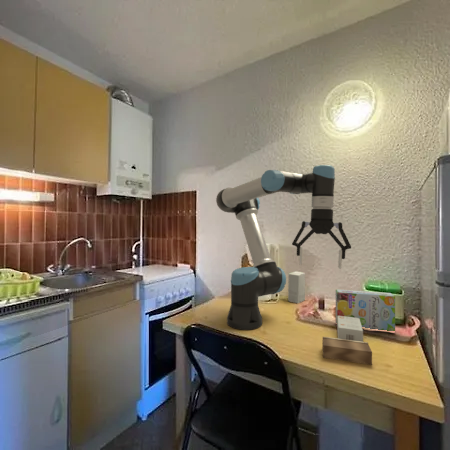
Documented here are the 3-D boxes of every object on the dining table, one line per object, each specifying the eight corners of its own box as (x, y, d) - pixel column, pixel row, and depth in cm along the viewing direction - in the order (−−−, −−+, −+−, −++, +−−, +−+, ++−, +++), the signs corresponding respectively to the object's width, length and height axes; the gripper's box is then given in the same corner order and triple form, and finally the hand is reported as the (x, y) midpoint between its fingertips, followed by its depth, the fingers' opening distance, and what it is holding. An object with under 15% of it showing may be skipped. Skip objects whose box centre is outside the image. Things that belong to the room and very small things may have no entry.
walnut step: (323, 357, 85) (323, 344, 85) (322, 348, 91) (322, 336, 91) (371, 364, 81) (372, 351, 81) (367, 355, 86) (367, 342, 86)
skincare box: (295, 298, 151) (295, 271, 151) (305, 300, 146) (306, 272, 146) (287, 301, 145) (287, 273, 144) (298, 303, 140) (298, 274, 140)
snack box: (390, 329, 108) (391, 292, 108) (395, 334, 103) (395, 296, 102) (335, 323, 114) (335, 288, 114) (336, 328, 109) (337, 291, 108)
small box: (363, 349, 91) (359, 333, 103) (363, 330, 91) (359, 317, 103) (337, 344, 94) (337, 330, 106) (337, 327, 94) (337, 314, 106)
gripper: (286, 207, 96) (284, 265, 97) (362, 209, 89) (358, 271, 90) (287, 208, 103) (286, 261, 104) (358, 209, 96) (355, 267, 97)
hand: (319, 266), depth 97 cm, fingers open, 13 cm apart
